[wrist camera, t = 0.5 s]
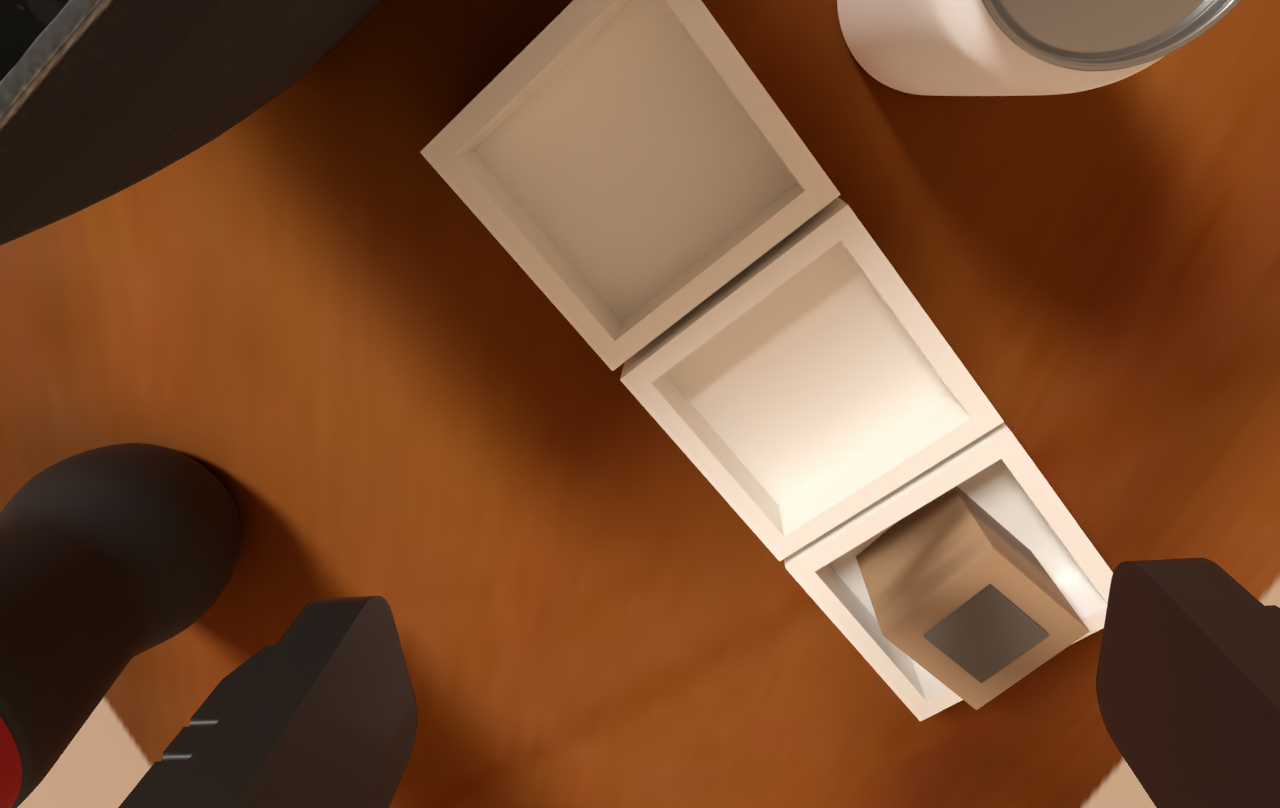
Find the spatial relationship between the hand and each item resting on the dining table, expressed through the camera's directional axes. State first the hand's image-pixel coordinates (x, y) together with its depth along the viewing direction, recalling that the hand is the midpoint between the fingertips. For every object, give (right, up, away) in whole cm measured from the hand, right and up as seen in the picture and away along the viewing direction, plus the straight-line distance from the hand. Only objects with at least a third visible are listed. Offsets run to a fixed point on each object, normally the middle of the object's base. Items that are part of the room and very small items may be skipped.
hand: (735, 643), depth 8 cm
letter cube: (+11, -4, +23) cm, 26 cm away
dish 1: (-1, +11, +19) cm, 22 cm away
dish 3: (+12, -3, +23) cm, 26 cm away
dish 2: (+5, +4, +21) cm, 22 cm away
